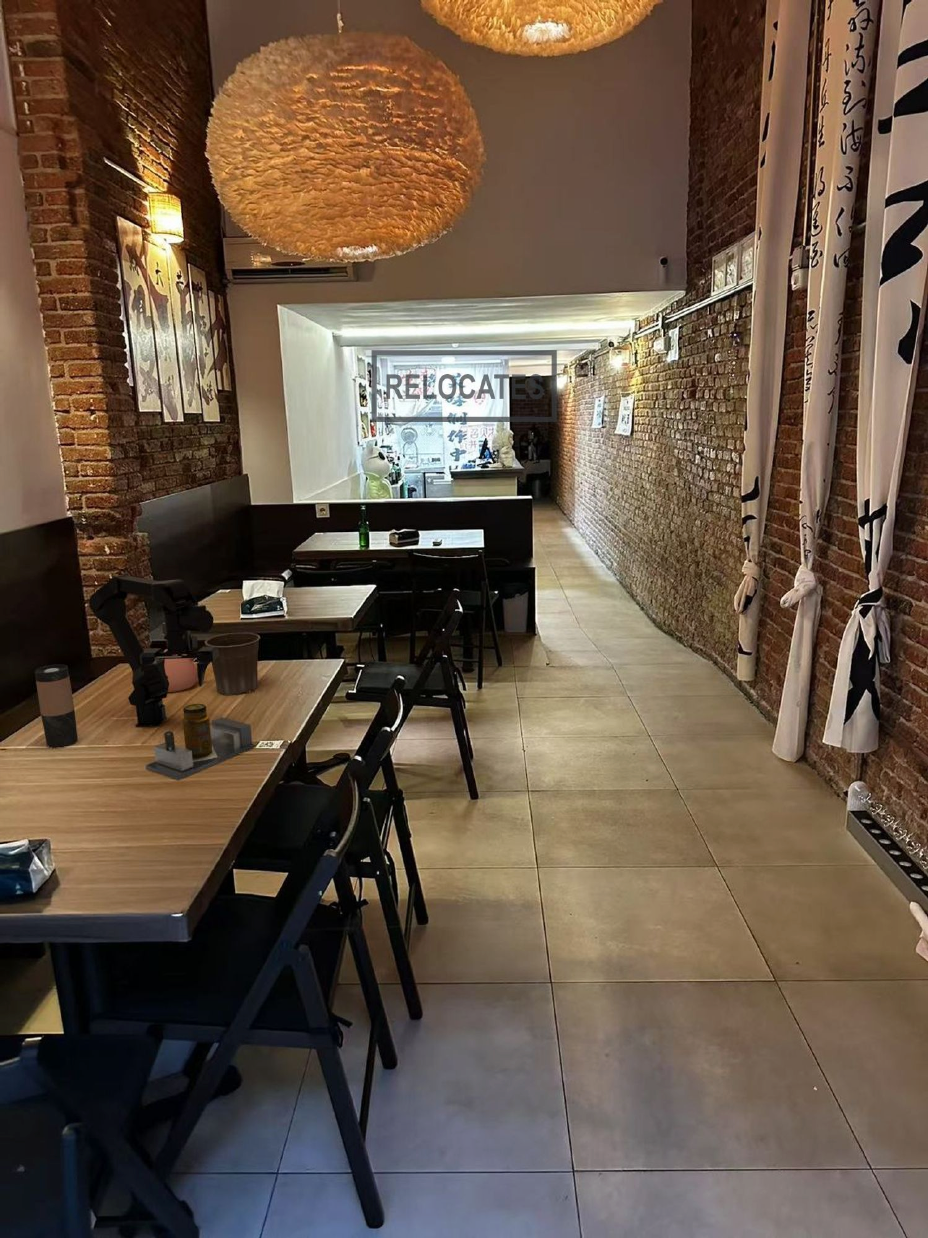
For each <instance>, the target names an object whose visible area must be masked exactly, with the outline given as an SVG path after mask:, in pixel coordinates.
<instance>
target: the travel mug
mask: <svg viewBox="0 0 928 1238" xmlns="http://www.w3.org/2000/svg"><path fill="white" fill-rule="evenodd" d="M34 676H35V683H36V689H37V697H38V705H39V712H40V716H41V721H42V728H43V732H44V736H45V737H44V738H45V741H46V746H47V747H48V746H49V747H48V748H50V747H52V748H51V749H58V748H57V747H62V748H65V747H64V746H67V747H70V746H72V745H75V744H76V743H77V742H78V730H77V729H78V728H77V722H76V721H77V720H76V712H75V711H76V709H75V705H74V697H73V692H72V691H73V690H72V685H71V680H70V674H69V668H68V665H66V664H51V665H45V666H44V665H43V666H41V667H38V668H36V670H35V671H34Z"/></svg>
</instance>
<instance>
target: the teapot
mask: <svg viewBox="0 0 928 1238" xmlns="http://www.w3.org/2000/svg"><path fill="white" fill-rule="evenodd" d="M166 651H167V648H166V649H164V650H163V652H166ZM194 659H195V658H182V659H165V664H164V667H165V672H166V675H167V676H168V678H167V679H168V681H169V687H168V693H171V692H179V691H180V692H181V691H184V690H187V689H190V688H192V687H193V686H194V685H195V683H196V682H197V680H198V674H197V666H196V665H195V664H194V662H193V661H192V660H194Z"/></svg>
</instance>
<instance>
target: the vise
mask: <svg viewBox="0 0 928 1238" xmlns="http://www.w3.org/2000/svg"><path fill="white" fill-rule="evenodd" d="M210 732H211V741H212V746H213V748H214V751H215V753H216V755H217V757H216V758H212V759H207V760H201V761H195V762H193V767H192V768H189V769H187V770H184V771H180V770H177V769H174V768H171V767H168V766H165V765H162V764H159V763H156V760H154V761H153V762H151V763H148V764H145V770H148V771H151V772H152V773H156V774H159V775H162V776H164V777H167V778H170V779H172V780H176V781H179V780H182V779H184V778H188V777H189V776H191V775H192V776H193V775H194V774H196V773H199V772H200V771H203V770H206V769H208V768H211V767H213V766H215V765H217V764H220V763H221V762H222V763H223V762H224V761H227V760H229V759H231V757H232V758H234V757H236V756H238V755H237V754H239V753H241V754H243V753H245V752H244V751H246V752H248V751H250V750H252V749H254V748H255V744H254V743H253V739H252V726H251V724H249V723H245V722H241V721H238V720H234V719H230V718H226V717H222V716H221V717H218V718H215V719H212V720H211V725H210ZM235 755H236V756H235ZM239 755H240V754H239ZM233 756H234V757H233ZM226 759H227V760H226Z"/></svg>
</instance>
